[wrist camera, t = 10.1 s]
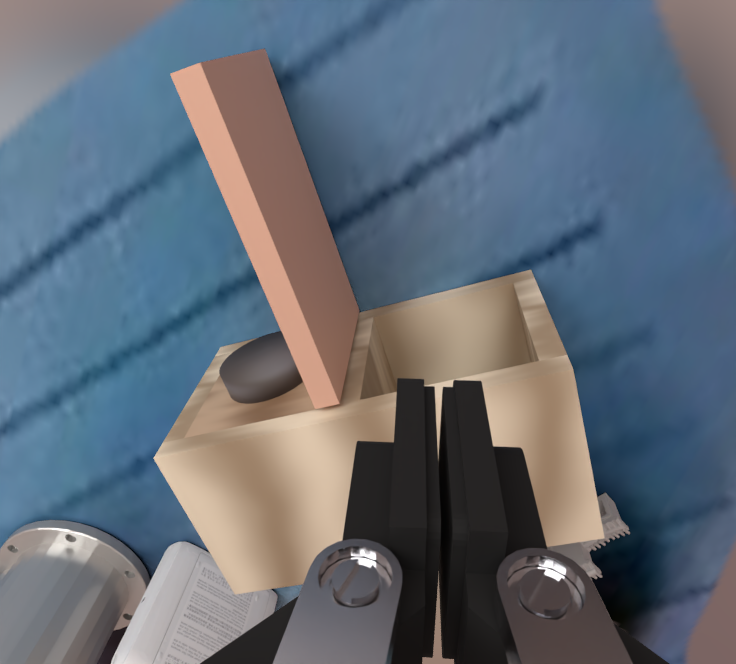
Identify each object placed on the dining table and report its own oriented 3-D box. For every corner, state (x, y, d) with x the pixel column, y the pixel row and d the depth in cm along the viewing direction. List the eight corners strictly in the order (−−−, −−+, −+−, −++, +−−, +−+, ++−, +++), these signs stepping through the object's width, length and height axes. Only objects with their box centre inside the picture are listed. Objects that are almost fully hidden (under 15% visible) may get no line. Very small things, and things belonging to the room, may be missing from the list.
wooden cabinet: (277, 463, 43) (234, 594, 33) (211, 328, 38) (139, 436, 28) (559, 407, 39) (604, 538, 29) (526, 247, 34) (567, 340, 24)
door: (359, 310, 36) (339, 403, 27) (322, 320, 36) (291, 414, 28) (265, 48, 30) (200, 62, 21) (221, 64, 30) (140, 84, 21)
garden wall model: (605, 487, 42) (631, 554, 36) (620, 502, 42) (648, 570, 37) (470, 561, 46) (476, 630, 41) (484, 573, 47) (492, 644, 41)
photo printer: (155, 559, 49) (78, 715, 38) (179, 530, 47) (106, 685, 36) (260, 615, 51) (216, 778, 40) (287, 590, 49) (249, 753, 39)
